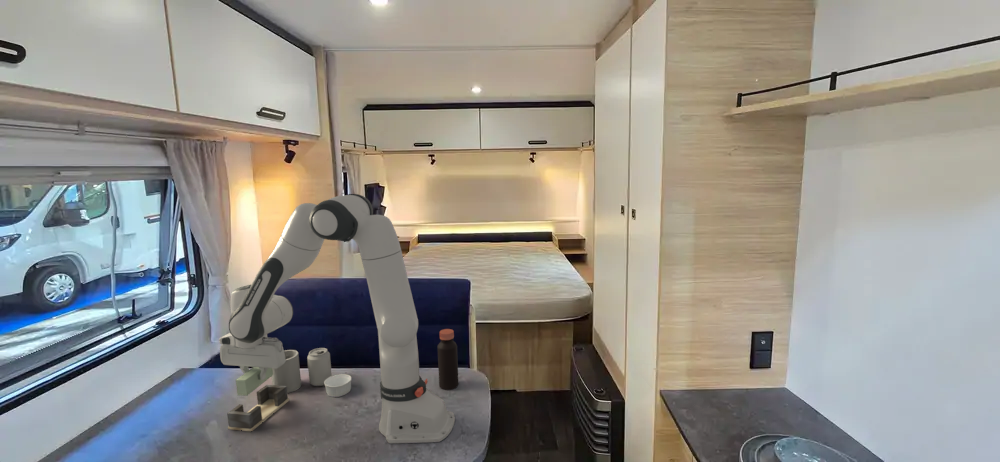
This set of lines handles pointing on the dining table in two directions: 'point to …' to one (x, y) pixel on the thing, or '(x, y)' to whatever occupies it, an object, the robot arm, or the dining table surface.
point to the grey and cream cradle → (258, 408)
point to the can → (319, 366)
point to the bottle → (447, 360)
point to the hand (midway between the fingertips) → (255, 378)
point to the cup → (288, 372)
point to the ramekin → (338, 385)
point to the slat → (251, 381)
